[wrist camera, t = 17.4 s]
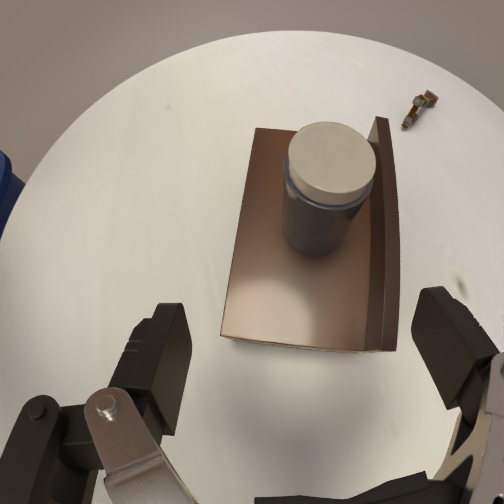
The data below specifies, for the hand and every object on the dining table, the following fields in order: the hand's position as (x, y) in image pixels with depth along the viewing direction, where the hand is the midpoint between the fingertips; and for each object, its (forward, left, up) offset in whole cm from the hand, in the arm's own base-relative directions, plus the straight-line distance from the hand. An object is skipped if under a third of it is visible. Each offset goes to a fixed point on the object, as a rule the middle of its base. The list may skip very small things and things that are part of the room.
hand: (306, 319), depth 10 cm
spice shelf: (+1, +7, -15) cm, 17 cm away
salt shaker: (+1, +7, -9) cm, 12 cm away
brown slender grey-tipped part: (+14, +26, -15) cm, 33 cm away
